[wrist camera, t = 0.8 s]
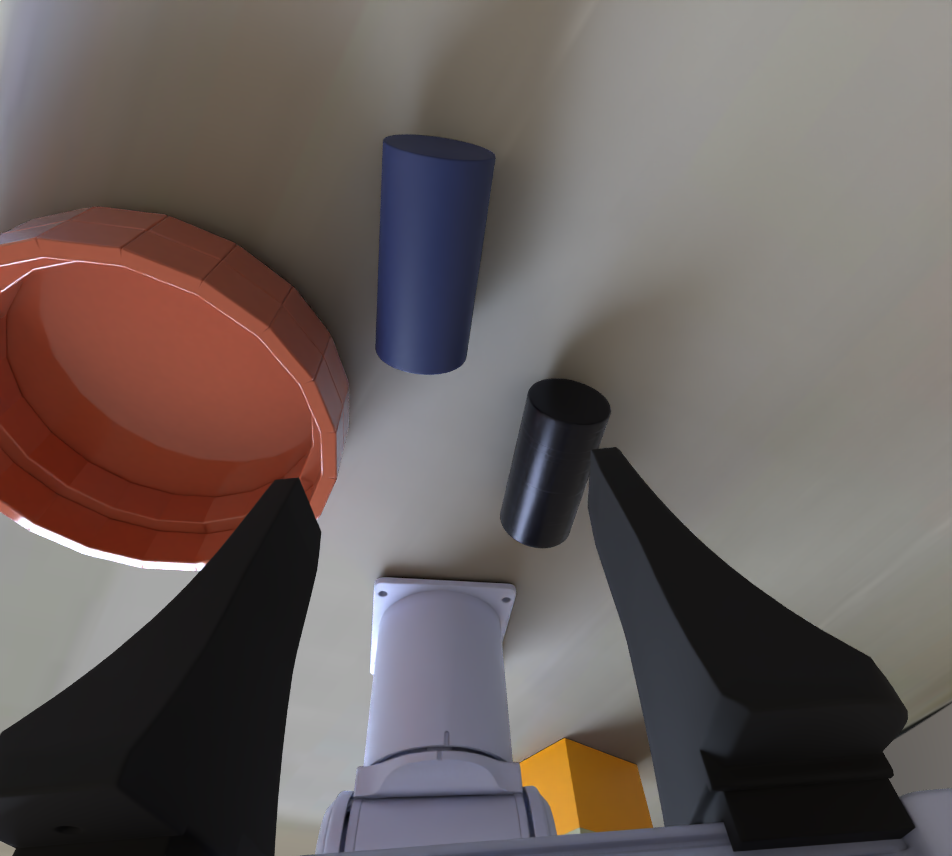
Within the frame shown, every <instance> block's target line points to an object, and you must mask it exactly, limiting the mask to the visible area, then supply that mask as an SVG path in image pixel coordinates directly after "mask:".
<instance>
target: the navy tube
mask: <svg viewBox="0 0 952 856" xmlns="http://www.w3.org/2000/svg"><path fill="white" fill-rule="evenodd" d="M495 159H496V157H495V154H494V153H493V152H491V151H489V150H488V149H485V148H483V147H480V146H477V145H474V144H470V143H466V142H462V141H458V140H453V139H447V138H441V137H434V136H424V135H392V136H388V137H385V138H384V140H383V155H382V182H381V209H380V236H379V263H378V290H377V317H376V344H375V349H376V353H377V355H378V356H379V358H380V359H381V360H382V361H383V362H385V363H386V364H388V365H390V366H391V367H393V368H396V369H398V370H401V371H405V372H409V373H414V374H424V375H434V374H442V373H447V372H450V371H453V370H455V369H457V368H459V367H460V366H461V365H462V364H463V363H464V362H465V360H466V356H467V350H468V343H469V336H470V329H471V322H472V315H473V309H474V302H475V295H476V288H477V281H478V274H479V268H480V261H481V254H482V247H483V240H484V234H485V227H486V220H487V213H488V206H489V199H490V193H491V186H492V179H493V172H494V165H495Z"/></svg>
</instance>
